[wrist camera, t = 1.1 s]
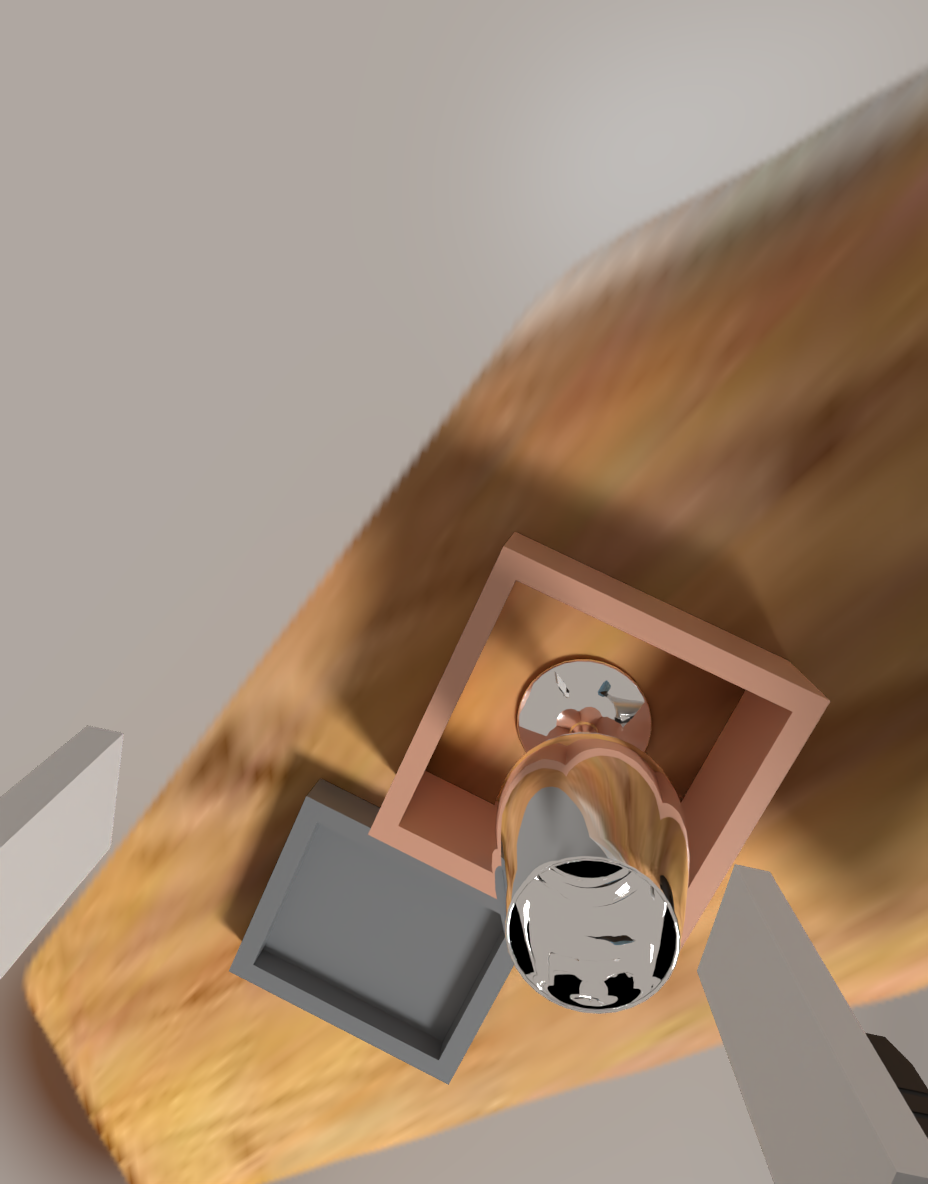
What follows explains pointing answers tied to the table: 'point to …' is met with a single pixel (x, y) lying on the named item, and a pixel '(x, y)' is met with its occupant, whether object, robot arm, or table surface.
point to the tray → (375, 938)
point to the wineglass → (589, 844)
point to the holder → (773, 685)
